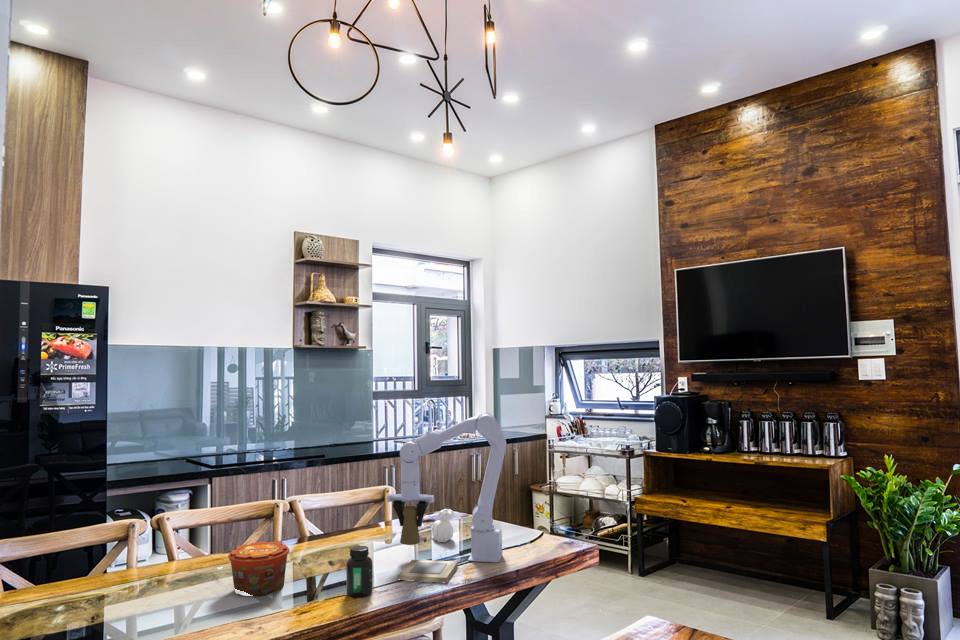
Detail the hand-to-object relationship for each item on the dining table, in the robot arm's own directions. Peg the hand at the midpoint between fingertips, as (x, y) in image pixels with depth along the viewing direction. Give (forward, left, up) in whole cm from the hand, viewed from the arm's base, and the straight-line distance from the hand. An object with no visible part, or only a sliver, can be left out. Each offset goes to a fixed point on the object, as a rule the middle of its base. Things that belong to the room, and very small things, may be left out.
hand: (410, 525), depth 204 cm
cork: (0, 0, -5) cm, 5 cm away
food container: (+34, +30, -11) cm, 47 cm away
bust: (-5, -22, -11) cm, 25 cm away
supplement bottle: (+5, +30, -11) cm, 32 cm away
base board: (-9, +12, -10) cm, 18 cm away
